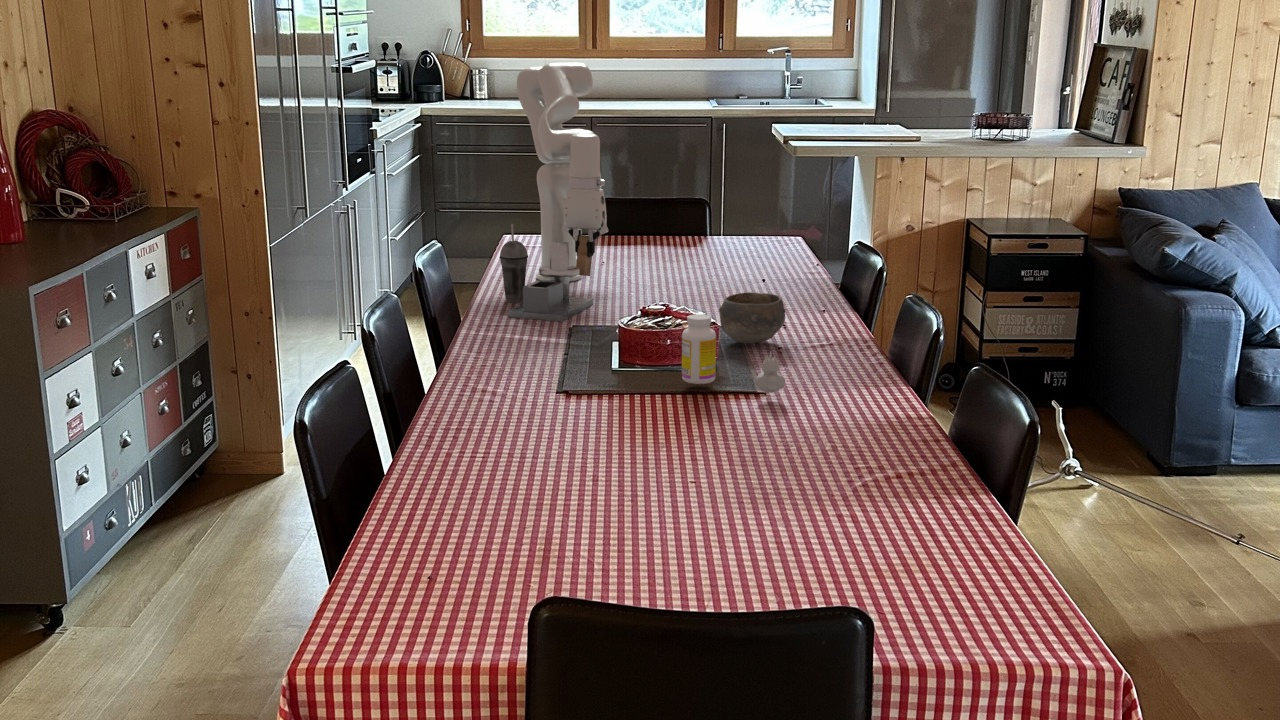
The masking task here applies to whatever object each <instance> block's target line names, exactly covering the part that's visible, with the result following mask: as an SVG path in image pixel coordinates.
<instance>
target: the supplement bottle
mask: <svg viewBox="0 0 1280 720" xmlns="http://www.w3.org/2000/svg"><path fill="white" fill-rule="evenodd" d="M686 323H687V328H685V329H684V330H683V331H682V333H681V378H682V380H683V381H684V382H685V383H688V384H694V385H695V384H697V385H705V384H710V383H713V382H714V381H715V380H716V376H717V375H716V371H717V370H716V369H717V367H716V363H717V361H716V360H717V359H716V358H717V357H716V356H717V344H716V343H717V333H716V331H715V330H714V329H713V328H711V324H712V316H711V315H707V314H697V313H695V314H690V315H689V314H688V316H687V318H686Z"/></svg>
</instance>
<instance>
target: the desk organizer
mask: <svg viewBox="0 0 1280 720" xmlns="http://www.w3.org/2000/svg"><path fill="white" fill-rule="evenodd" d="M549 264H550V266H544V267H542V266H541V267H539V268H538V273H539V274H540V275H542V276H546V277H550V281H542V280H538V279H537V280H536V281H533V282H531V283H529V284H525V286H524V287H523V302H522V304H520V305H517V306H516V307H514V308H511V309H509V310H507V313H508V318H515V319H516V318H517V319H526V320H527V319H529V320H540V321H550V322H551V321H552V322H561V323H562V322H564V321H566V320H568V319H570V318H571V317H573V316H575V315H577V314H579V313H580V312H582V311H584V310H586V309H588V308H590V307H591V306H593V305H594V298H589V297H576V296H574V297H573V296H570V281H569V277H571V276H576V275H579V267H576V266H570V265H569V243H568V242H550V243H549Z"/></svg>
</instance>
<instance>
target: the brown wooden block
mask: <svg viewBox="0 0 1280 720" xmlns="http://www.w3.org/2000/svg"><path fill="white" fill-rule="evenodd" d="M579 242H580V244H579V246H578V253H577V252H576V259H577V263H576V267H579V275H581V276H582V277H584V276H585V277H591V273H592V263H593V256H591V257H587V246H586V243H587V242H588V235H585V234H582V235H579Z"/></svg>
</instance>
